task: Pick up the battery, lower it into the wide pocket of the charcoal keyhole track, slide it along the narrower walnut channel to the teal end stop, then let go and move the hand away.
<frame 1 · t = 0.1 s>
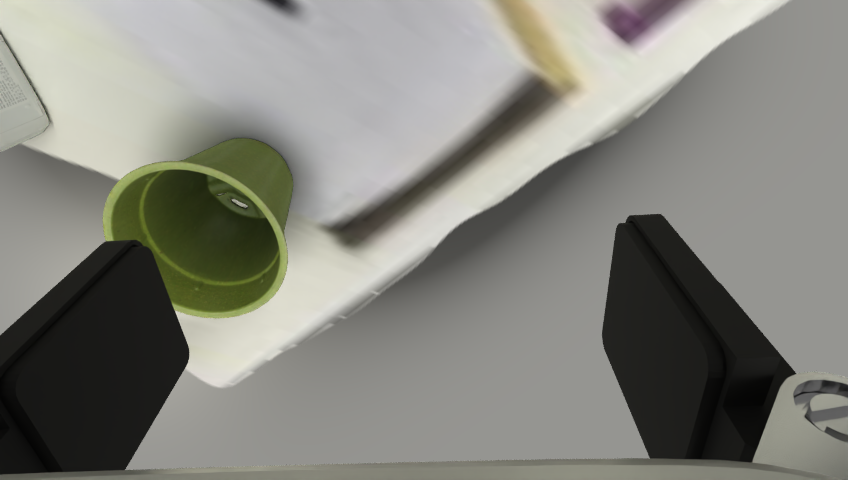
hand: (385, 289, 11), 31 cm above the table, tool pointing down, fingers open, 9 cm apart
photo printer: (0, 69, 39), on the table
plant pot: (250, 178, 43), on the table
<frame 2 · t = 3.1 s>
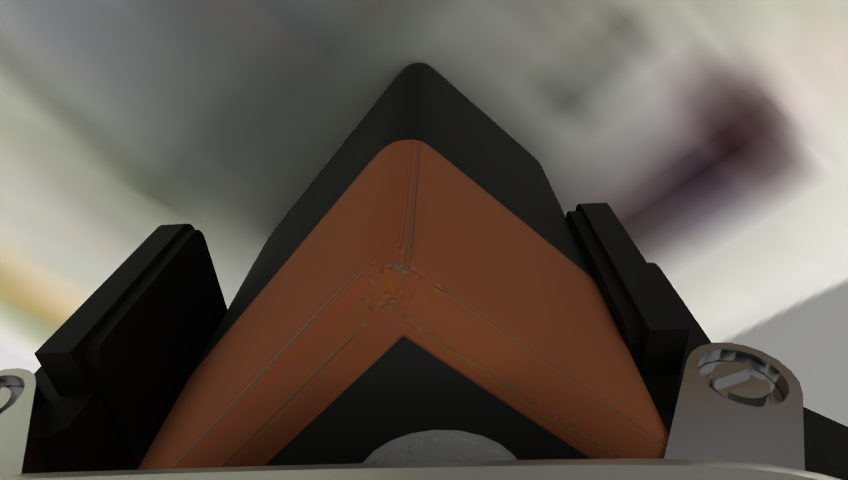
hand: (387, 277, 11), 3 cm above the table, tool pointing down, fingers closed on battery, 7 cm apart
battery: (398, 201, 14), on the table, touching gripper
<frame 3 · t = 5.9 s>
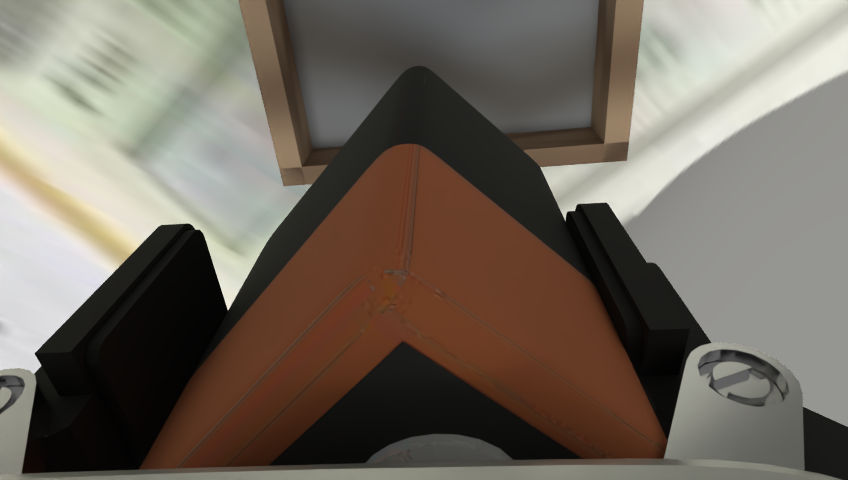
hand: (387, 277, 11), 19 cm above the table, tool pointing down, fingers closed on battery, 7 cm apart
battery: (398, 203, 14), point 16 cm above the table, touching gripper
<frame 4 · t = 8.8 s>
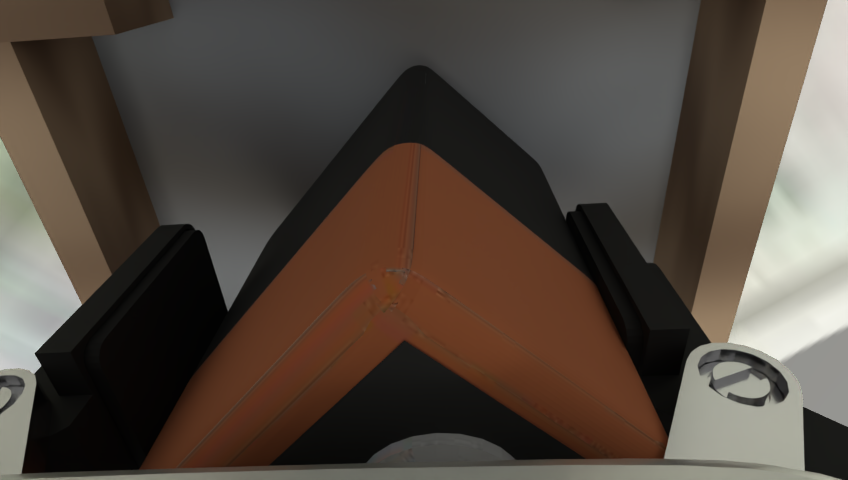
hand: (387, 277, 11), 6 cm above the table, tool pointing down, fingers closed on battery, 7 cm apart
battery: (398, 203, 14), point 2 cm above the table, touching gripper
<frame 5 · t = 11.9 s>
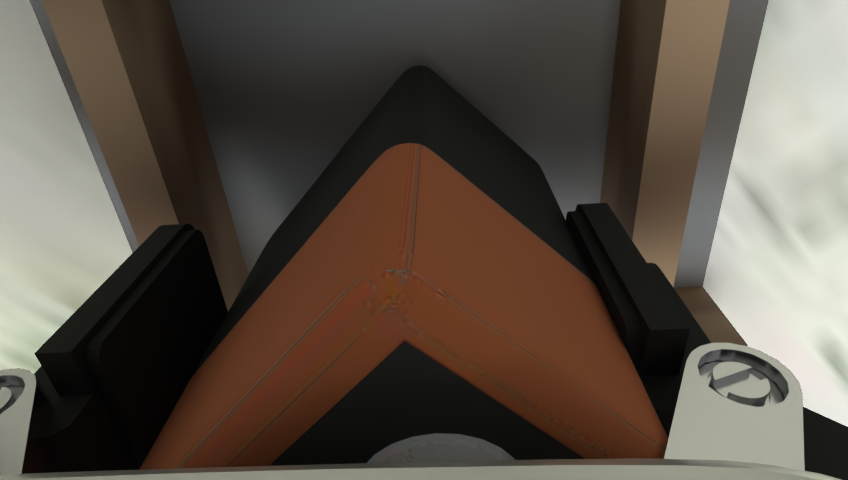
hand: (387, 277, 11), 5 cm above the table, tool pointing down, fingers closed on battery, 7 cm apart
keyhole track: (421, 291, 17), on the table
battery: (398, 203, 14), point 1 cm above the table, touching gripper
when the fingers open (5 cm above the table, at t = 14.5 s): battery drops 1 cm, resting on keyhole track.
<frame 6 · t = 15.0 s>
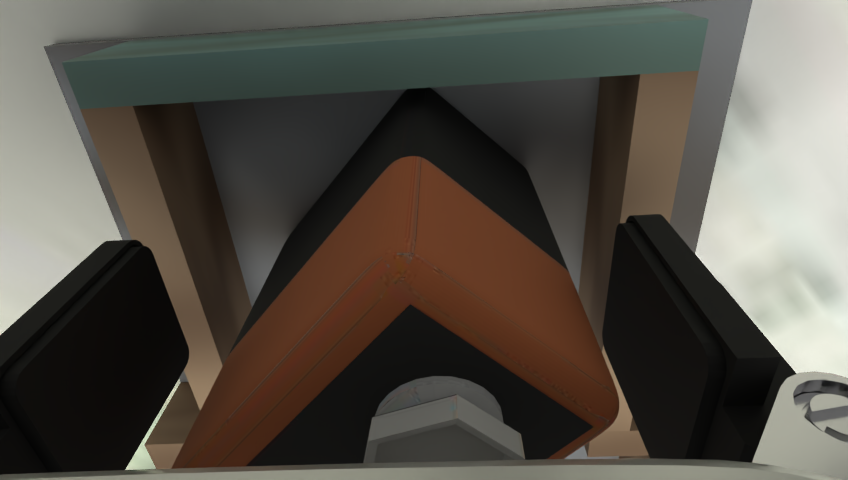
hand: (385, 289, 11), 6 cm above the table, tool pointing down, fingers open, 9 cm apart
keyhole track: (419, 366, 19), on the table
battery: (402, 204, 16), resting on keyhole track
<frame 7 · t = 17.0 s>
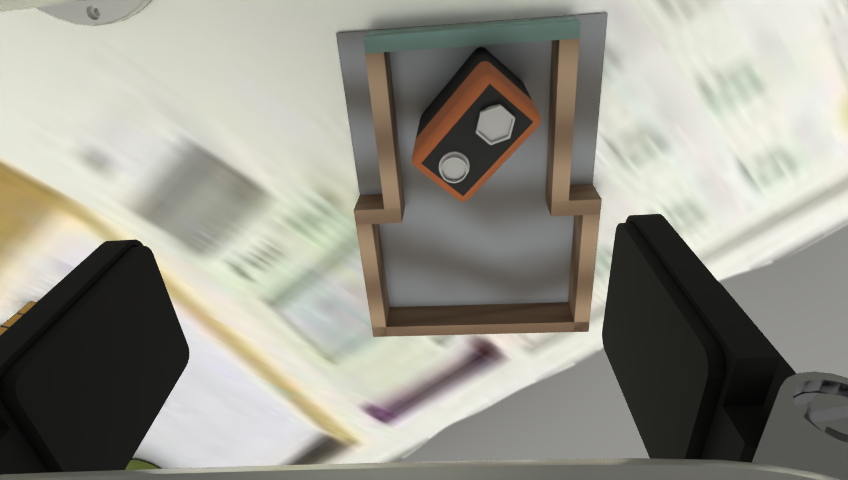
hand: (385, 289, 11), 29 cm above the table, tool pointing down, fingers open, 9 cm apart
keyhole track: (473, 187, 41), on the table
plant pot: (141, 476, 61), on the table
battery: (470, 101, 37), resting on keyhole track
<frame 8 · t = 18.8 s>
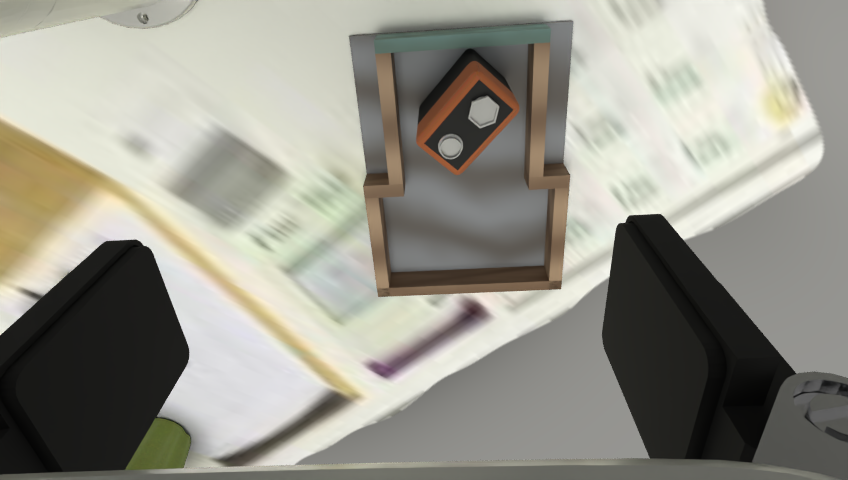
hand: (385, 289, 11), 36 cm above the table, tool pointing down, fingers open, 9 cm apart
keyhole track: (463, 166, 48), on the table
plant pot: (163, 434, 67), on the table
battery: (461, 93, 44), resting on keyhole track
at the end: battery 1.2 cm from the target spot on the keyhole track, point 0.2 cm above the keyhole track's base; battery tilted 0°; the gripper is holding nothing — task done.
